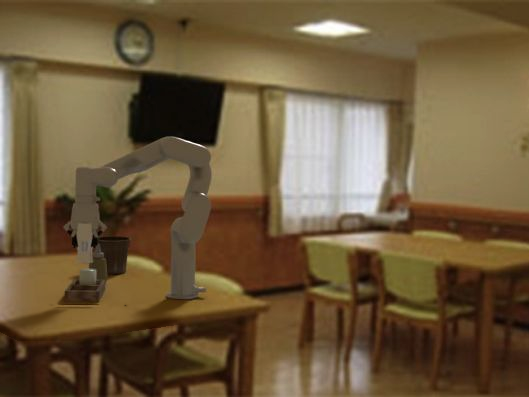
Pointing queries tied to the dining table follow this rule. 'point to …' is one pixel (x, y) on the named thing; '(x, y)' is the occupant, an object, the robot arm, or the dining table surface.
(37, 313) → the dining table surface
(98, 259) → the squeeze bottle
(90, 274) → the grey rounded piece
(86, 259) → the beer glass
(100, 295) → the carrier
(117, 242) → the plant pot
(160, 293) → the dining table surface
